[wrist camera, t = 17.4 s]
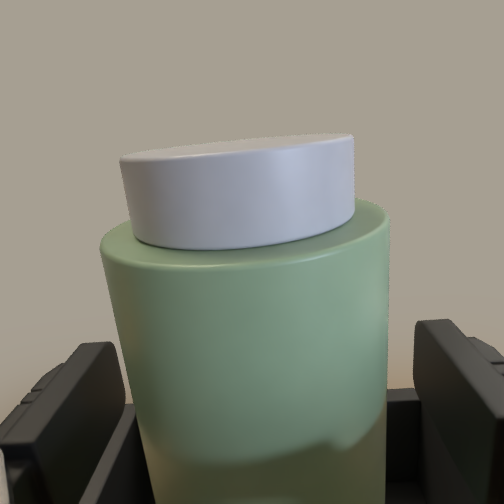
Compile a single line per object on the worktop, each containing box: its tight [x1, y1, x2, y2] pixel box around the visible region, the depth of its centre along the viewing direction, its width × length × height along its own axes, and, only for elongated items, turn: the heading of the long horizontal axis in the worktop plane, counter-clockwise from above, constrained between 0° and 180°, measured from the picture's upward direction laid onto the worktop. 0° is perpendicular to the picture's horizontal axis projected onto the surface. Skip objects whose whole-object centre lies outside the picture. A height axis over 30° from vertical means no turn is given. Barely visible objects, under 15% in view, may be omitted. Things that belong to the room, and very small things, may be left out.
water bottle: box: [100, 133, 390, 504], centre depth 10 cm, size 5×5×15 cm
